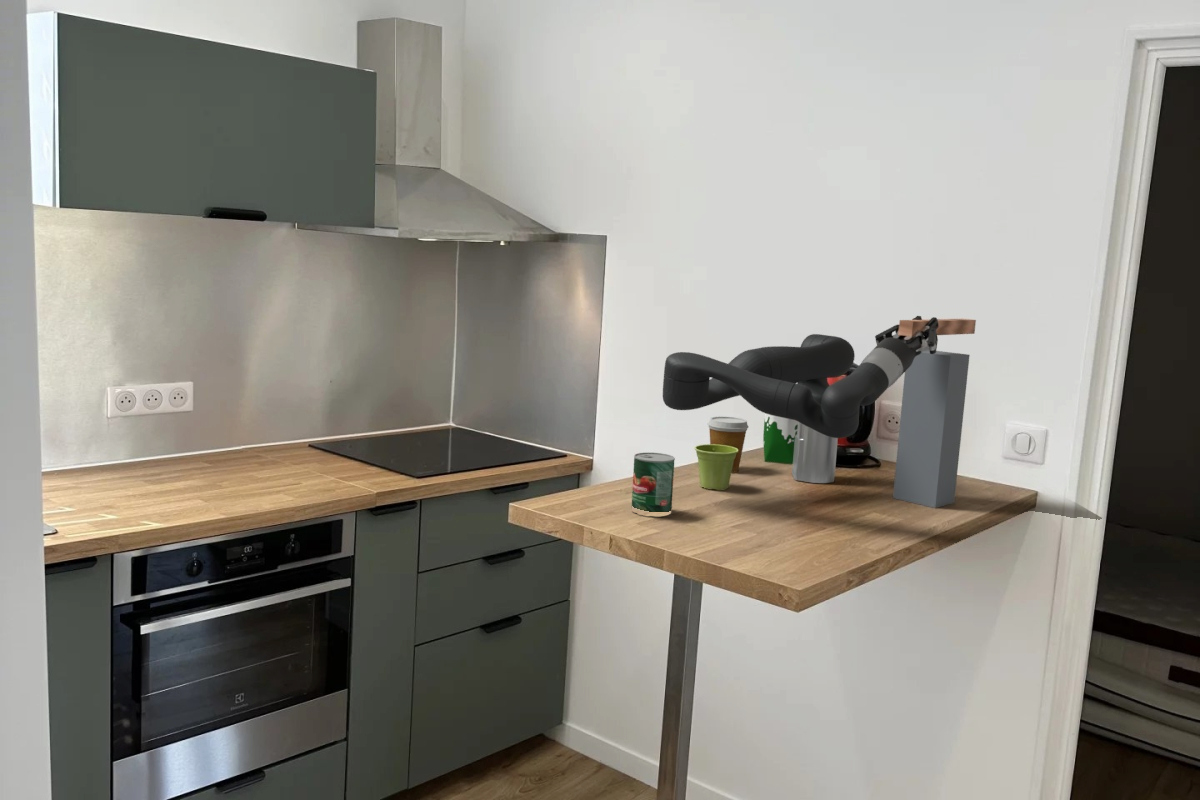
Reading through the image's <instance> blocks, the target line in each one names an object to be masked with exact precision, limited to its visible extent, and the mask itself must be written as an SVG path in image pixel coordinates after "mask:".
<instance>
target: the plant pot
mask: <svg viewBox="0 0 1200 800" xmlns="http://www.w3.org/2000/svg"><path fill="white" fill-rule="evenodd" d="M694 450H695V451H696V457H697V462H698V472H699V474H698V475H699V486H700V487H701V486H702V487H704V488H703V489H705V488H708V489H711V490H716V491H723V490H727V489H729V487H730V486H729V485H730V481H731V478H732V473H731V472H732V467H733V462H734V459H735V457H736V453H738V449H737V448H734V447H731V446H725V445H715V444H710V443H709V444H699V445H695V446H694ZM702 487H701V488H702ZM708 489H707V490H708Z"/></svg>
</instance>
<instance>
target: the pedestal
mask: <svg viewBox="0 0 1200 800" xmlns="http://www.w3.org/2000/svg"><path fill="white" fill-rule="evenodd" d="M970 357H971V356H970V354H967V353H966V354H965V353H959V352H950V351H949V352H948V351H943V350H942V351H941V350H936V353H935V354H930V351H922V353H921V354H920V355H917V356H916V357H915V358H914V360H913V362H912V364H911V366H910V367H909V368H908V369H907V370H906V371H905V372H904V376H903V386H902V387H903V389H902V399H901V410H900V419H899V420H900V421H899V430H898V440H897V451H896V462H895V469H894V470H895V471H894V481H893V490H892V491H893V492H892V493H893V494H892V499H896V500H900V501H904V502H909V503H913V504H917V505H920V506H925V507H929V508H933V509H937V508H940V507H941V508H942V507H943V506H948V505H952V504H955V498H956V488H957V478H958V468H959V461H960V451H961V450H960V449H961V441H962V432H963V423H964V422H963V421H964V413H965V412H964V410H965V404H966V403H965V402H966V392H967V384H968V374H969V373H968V372H969V364H970Z"/></svg>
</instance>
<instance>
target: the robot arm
mask: <svg viewBox="0 0 1200 800" xmlns="http://www.w3.org/2000/svg"><path fill="white" fill-rule="evenodd" d="M937 319H938V318H937V317H931V318H930V320H929V322H928V323H927V324H926V325H925V326H924V327H923V328H922V329H921V330H917V331H916V332H915V333H914V334H913V335H912V336H903V335H898V333H899V324H895V325H893V326H892V327H890V328H888V329H886V330H883V331H882V332H880V333H878V334H876V335H875V336H874V338H875V343H876V346H875V347H874V348H872V350H871V351H870V352H869V353H868V354H867V355H866V356H865V357H864V358H863V360H862V361H861V363H860V364H859V365H858V366H857V367H856V368H855V369H854V370H853V371H852V372H851V373H850V374H849V375H846V376H845V377H842V378H840V379H839V380H836V381H835V382H833V383H831V384H830V383H829V381H828V379H832V378H839V377H841V376H843V375H845V374H846V373H847V372H848V371H849V370H850V369H851V368H852V366H853V364H854V361H855V357H856V355H855V349H854V347H853V346H852V344H851V343H850V341H848V340H846V339H845V338H843V337H839V336H835V335H827V334H818V333H812V334H809V335H807V336H806V337H805V338H804V339H803V341H802V342H801V344H800V346H784V345H781V346H778V345H777V346H775V345H774V346H763V347H757V348H751V349H748V350H744V351H742V352H741V353H739V354H737V355H735V357H733V359H731V361H729V362H728V363H726V362H723V361H720V360H718V359H715V358H712V357H709V356H707V355H703V354H699V353H695V352H689V351H688V352H684V351H680V352H674V353H671V354H669V355H668V356H666V359H665V363H664V369H663V370H664V371H663V381H662V382H663V383H662V400H663V403H664V405H666V406H667V408H669V409H672V410H677V411H690V410H698V409H701V408H705V407H708V406H710V405H713V404H716V403H719V402H723V401H725V400H728V399H732V398H734V397H735V398H736V397H739V396H740V397H741V398H743V400H745V401H746V402H747V403H748V404H749V405H751V407H752V408H755V409H756V410H757V411H759V412H761V413H764V414H765V413H766V414H769V415H773V416H778V417H782V418H787V419H792V420H796V421H798V427H797V435H795V442H794V454H793V464H792V468H791V476H792V477H793V479H794V480H795V481H799V482H800V481H801V482H805V483H813V484H830V483H834V481H835V475H836V463H837V453H838V452H837V451H838V440H839V439H844V438H848V437H850V436H853V435H854V434H855V433H856V432H857V430H858V428H859V419H860V417H859V416H860V406H862V407H863V406H864V407H865V406H869V405H872V404H873V403H874V402H876V401H877V400H878V399H879V398H880V397H881V396H882V395H883V394H884V393H885V391H887V390H888V389H889V388H891V387H892V386H893V385H894V384H895V383H896V382H897V381H898V379H900V377H902V376H903V375H904V374H905V371H906V370H907V369H908V368H909V367H910V366H911V364H912V362H913V360H914V358H915V357H916V356H917V355H920V354H921V353H922V351H930V354H935V353H936V351H937V347H938V341H939V339H938V335H937V333H936V329H937V328H938V327H939V324H938V320H937ZM911 320H923V319H922V316H921V315H916V316H915V317H913V318H912V319H911ZM894 332H895V334H893V333H894ZM924 334H925V336H924Z"/></svg>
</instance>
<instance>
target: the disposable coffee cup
mask: <svg viewBox="0 0 1200 800" xmlns="http://www.w3.org/2000/svg"><path fill="white" fill-rule="evenodd" d="M707 426H708V428H709V442H710V443H709V444H715V445H725V446H731V447H734V448H737V449H738V453H736V457H735V459H734V462H733V467H732V472H731V474H732V473H737V472H739V469H740V464H741V458H742V453H743V448H744V444H745V440H746V434H747V431H748V429H749V425H748V420H746V419H743V418H740V417H734V416H713V417H710V418H709V422H708V423H707Z"/></svg>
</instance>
